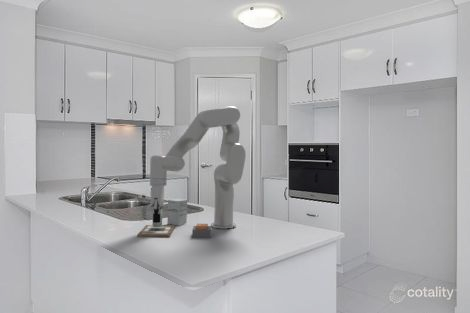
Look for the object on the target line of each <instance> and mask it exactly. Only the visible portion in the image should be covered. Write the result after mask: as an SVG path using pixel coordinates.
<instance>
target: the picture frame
mask: <svg viewBox="0 0 470 313" xmlns="http://www.w3.org/2000/svg"><path fill="white" fill-rule="evenodd" d="M175 228H176V225H172V224H165V225H163V224H162V226H161V227H153V226H152V224H145V226H144V227H143V228H142V229H141V230H140V231H139V232H138V233H137V235H136V238H170V237H171V235H172V234H173V232H174V230H175Z"/></svg>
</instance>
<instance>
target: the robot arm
mask: <svg viewBox="0 0 470 313" xmlns="http://www.w3.org/2000/svg"><path fill="white" fill-rule="evenodd" d="M240 119H241V113H240V110H239V109H238V108H237V107H236V106H233V105H231V106H225V107H220V108H214V109H207V110H202V111H200V112H198V114H197V115H196V116H195V117H194V119H193V120H192V122H191V123H190V125H189V126H188V128H187V129H186V130H185V132H184V133H183V134H182V135H181V137H179V139H178V140H177V141H176V142H175V143H174V144H173V145H172V147H171V148H170V149H169V151H168V152H167V153H166V154H165V155H152V156H150V165H149V166H150V167H149V170H150V171H149V186H150V187H151V190H150V202H149V207H150V208H152V223H153V222H154V223H160V207H161V206H162V205H163V206H164V202H165V186H167V181H168V180H167V179H168V178H167V177H168V176H167V172H175V173H176V172H179V171H182V170H183V169H184V168H185V165H186V163H185V159H183V158H184V156H185V155H187V153H188V152H190V150H192V149H194V148H196V147H197V146H198V145H199V144H200V142H201V141H202V139H204V137H205V135H206V133H207V132H208V131H209V129H210V128H212V129H213V128H218V127H221V129H222V139H221V145H220V150H219V156H220V159H221V160H222V161H224V162H226V163H223V164H219V165H217V166H216V167H215V169H214V171H213V180H214V210H213V211H214V213H213V214H214V218H213V219H214V221H213V222H211V224H210V226H211V228H213V229H221V230H225V229H227V228H230V229H234V228H236V227H237V225H236V223H234V196H235V194H234V193H235V192H234V190H235V188H234V185H236V184H238V183H239V182H240V181H241V180H242V177H243V175H244V174H243V173H244V167H245V163H246V162H245V161H246V148H245V147H244V146H243V145H242V144H241V143H239V141H240V134H241V133H240V127H239V124H238V122H239V120H240ZM153 204H154V209H153ZM157 206H159V207H157ZM157 208H158V209H157ZM235 226H236V227H235ZM233 227H234V228H233ZM227 230H228V229H227Z"/></svg>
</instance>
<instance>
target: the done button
mask: <svg viewBox="0 0 470 313" xmlns="http://www.w3.org/2000/svg"><path fill="white" fill-rule="evenodd" d="M195 226H196V229H208V226H209V225H208V223H196V225H195Z"/></svg>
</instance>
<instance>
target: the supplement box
mask: <svg viewBox="0 0 470 313" xmlns="http://www.w3.org/2000/svg"><path fill="white" fill-rule="evenodd" d="M187 213H188V199H184V198H183V199H182V198H171V199H168V200H167V224H166V225H175V226H178V227H179V226H183V225H186V224H187V218H188V216H187V215H188V214H187ZM185 223H186V224H185ZM182 224H183V225H182Z"/></svg>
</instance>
